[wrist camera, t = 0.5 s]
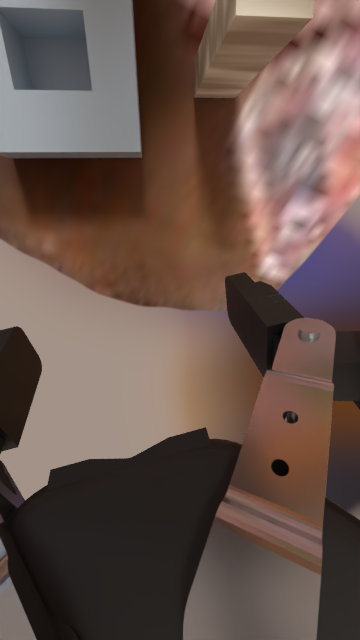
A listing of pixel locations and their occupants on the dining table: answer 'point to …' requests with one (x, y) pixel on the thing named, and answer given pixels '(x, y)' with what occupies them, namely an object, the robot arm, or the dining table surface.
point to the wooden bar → (244, 42)
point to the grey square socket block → (68, 79)
